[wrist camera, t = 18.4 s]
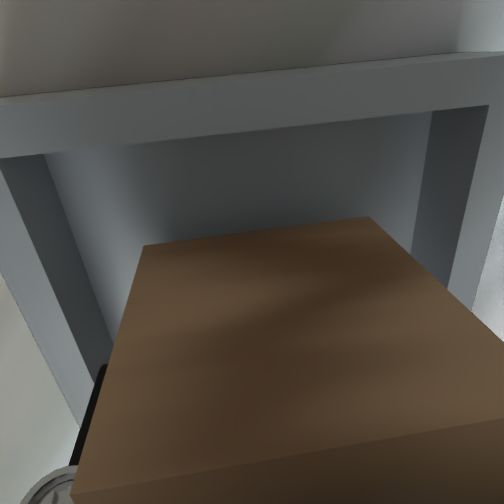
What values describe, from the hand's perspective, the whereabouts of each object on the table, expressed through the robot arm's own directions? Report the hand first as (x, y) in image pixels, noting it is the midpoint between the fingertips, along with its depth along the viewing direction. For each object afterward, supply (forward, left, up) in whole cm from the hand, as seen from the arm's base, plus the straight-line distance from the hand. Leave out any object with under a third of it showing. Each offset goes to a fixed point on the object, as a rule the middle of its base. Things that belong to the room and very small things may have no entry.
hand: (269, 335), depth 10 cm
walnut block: (0, 0, -1) cm, 1 cm away
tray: (0, 0, -3) cm, 3 cm away
